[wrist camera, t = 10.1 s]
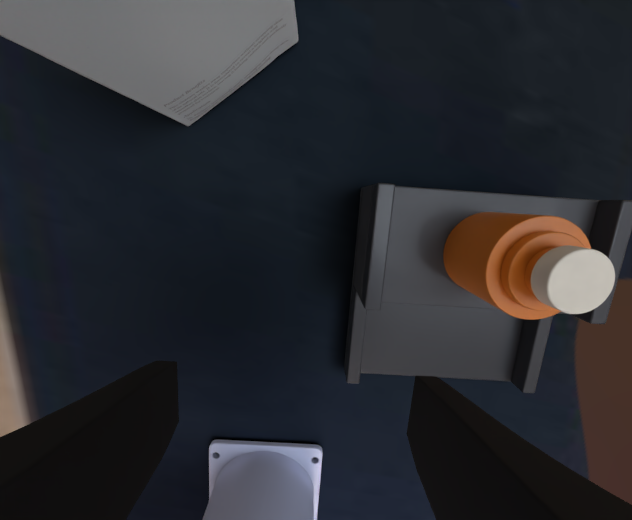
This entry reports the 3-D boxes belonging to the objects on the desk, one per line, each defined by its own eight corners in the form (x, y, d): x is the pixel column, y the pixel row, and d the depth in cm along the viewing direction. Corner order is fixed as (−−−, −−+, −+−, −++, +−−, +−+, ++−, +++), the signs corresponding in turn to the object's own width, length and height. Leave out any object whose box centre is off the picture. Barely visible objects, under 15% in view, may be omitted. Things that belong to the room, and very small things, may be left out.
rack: (516, 377, 20) (576, 430, 16) (343, 367, 20) (353, 418, 15) (555, 201, 18) (640, 201, 13) (360, 187, 18) (378, 182, 13)
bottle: (514, 293, 15) (626, 344, 10) (437, 288, 15) (506, 337, 10) (531, 214, 15) (662, 222, 9) (449, 209, 14) (532, 214, 9)
